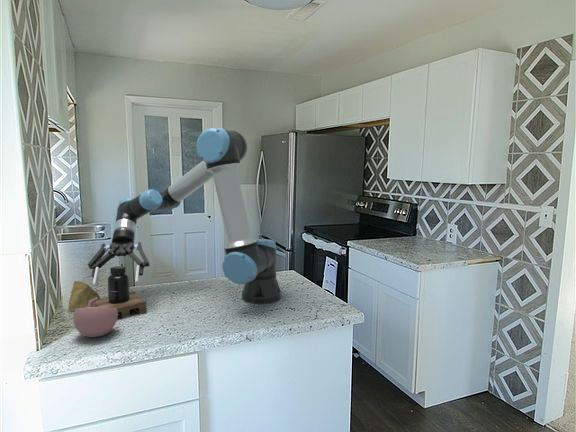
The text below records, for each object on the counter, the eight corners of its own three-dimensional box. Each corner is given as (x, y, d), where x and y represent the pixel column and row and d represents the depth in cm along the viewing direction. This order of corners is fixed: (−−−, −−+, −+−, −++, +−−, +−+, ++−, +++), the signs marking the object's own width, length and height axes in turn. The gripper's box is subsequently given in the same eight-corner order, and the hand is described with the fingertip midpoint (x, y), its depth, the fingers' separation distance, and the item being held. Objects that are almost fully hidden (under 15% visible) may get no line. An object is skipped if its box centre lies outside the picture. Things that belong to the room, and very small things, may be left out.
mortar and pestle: (123, 325, 123) (121, 291, 121) (112, 342, 111) (110, 304, 110) (83, 328, 121) (80, 293, 119) (68, 345, 109) (65, 307, 108)
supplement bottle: (109, 305, 130) (107, 271, 128) (108, 299, 136) (106, 266, 134) (130, 302, 133) (129, 268, 131) (129, 296, 139) (127, 264, 137)
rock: (106, 294, 146) (79, 292, 145) (103, 281, 140) (74, 279, 139) (97, 319, 138) (68, 317, 137) (93, 307, 132) (62, 304, 131)
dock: (146, 312, 134) (146, 301, 133) (103, 323, 125) (103, 311, 124) (133, 301, 144) (132, 291, 144) (93, 310, 136) (92, 300, 135)
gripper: (160, 238, 149) (155, 287, 136) (91, 240, 145) (80, 291, 132) (157, 227, 143) (152, 277, 130) (85, 229, 139) (73, 281, 126)
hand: (116, 284), depth 131 cm, fingers open, 13 cm apart
